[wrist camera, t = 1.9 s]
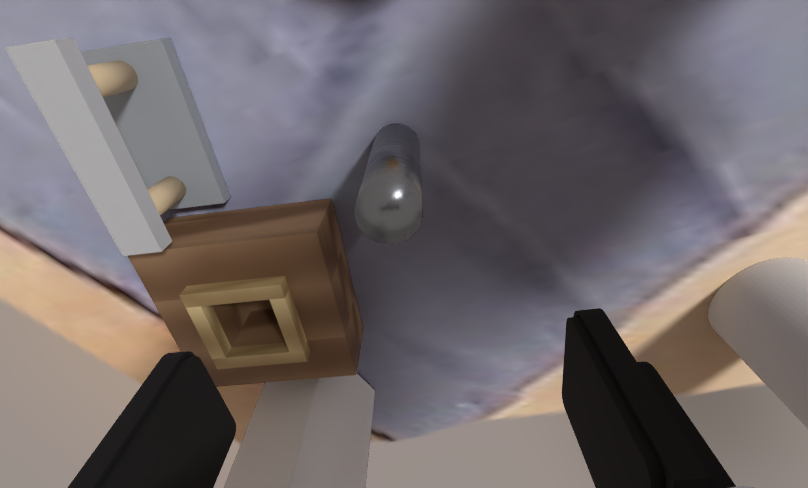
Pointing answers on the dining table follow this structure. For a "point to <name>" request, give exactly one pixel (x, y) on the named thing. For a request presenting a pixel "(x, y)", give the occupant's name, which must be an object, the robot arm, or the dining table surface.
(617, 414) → the robot arm
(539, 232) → the dining table surface
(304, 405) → the milk carton
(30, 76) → the peg rack
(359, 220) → the pin
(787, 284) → the light grey cylinder
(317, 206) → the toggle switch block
